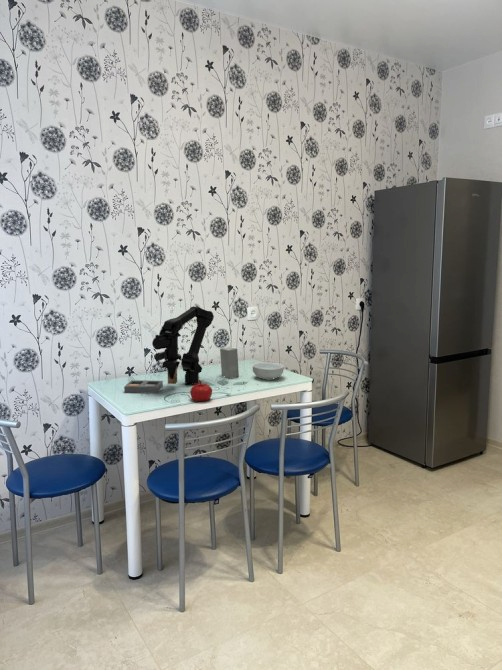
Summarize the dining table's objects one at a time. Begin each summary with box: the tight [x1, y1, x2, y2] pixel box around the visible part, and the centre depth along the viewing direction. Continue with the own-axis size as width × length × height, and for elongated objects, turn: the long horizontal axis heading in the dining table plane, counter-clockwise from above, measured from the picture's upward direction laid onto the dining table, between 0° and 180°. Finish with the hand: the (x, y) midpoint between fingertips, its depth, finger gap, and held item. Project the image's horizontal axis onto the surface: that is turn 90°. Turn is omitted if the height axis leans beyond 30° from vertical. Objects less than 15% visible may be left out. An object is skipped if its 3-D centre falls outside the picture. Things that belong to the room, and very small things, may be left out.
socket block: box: [123, 379, 164, 394], centre depth 247 cm, size 16×12×3 cm
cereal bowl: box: [252, 361, 285, 380], centre depth 271 cm, size 17×17×7 cm
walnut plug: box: [166, 368, 178, 385], centre depth 247 cm, size 4×4×9 cm
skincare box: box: [219, 346, 240, 379], centre depth 273 cm, size 8×7×16 cm
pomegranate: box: [189, 379, 213, 402], centre depth 231 cm, size 10×10×9 cm
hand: (172, 377), depth 247 cm, fingers closed on walnut plug, 4 cm apart
